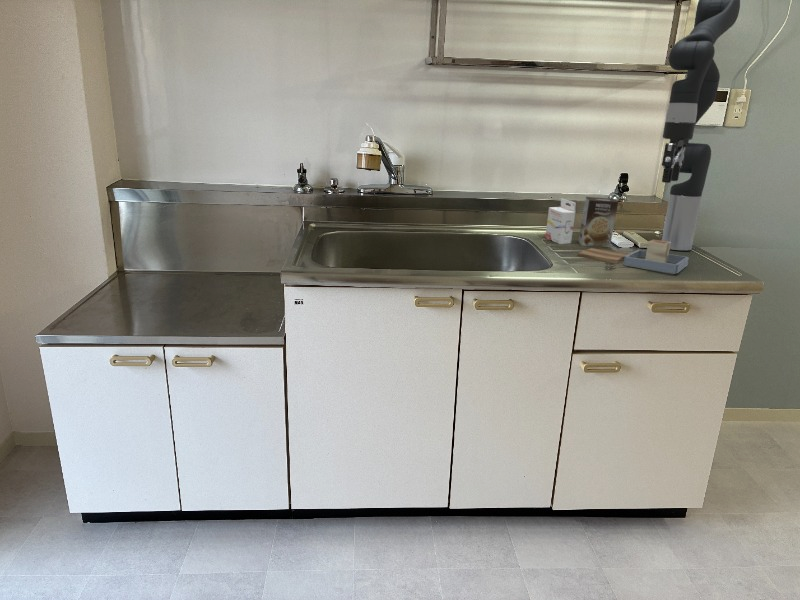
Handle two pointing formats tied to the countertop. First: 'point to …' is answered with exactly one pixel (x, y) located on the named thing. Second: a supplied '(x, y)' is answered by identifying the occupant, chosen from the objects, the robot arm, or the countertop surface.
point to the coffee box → (598, 221)
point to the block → (658, 250)
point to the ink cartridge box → (561, 222)
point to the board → (603, 255)
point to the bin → (656, 262)
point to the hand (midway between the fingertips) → (669, 181)
